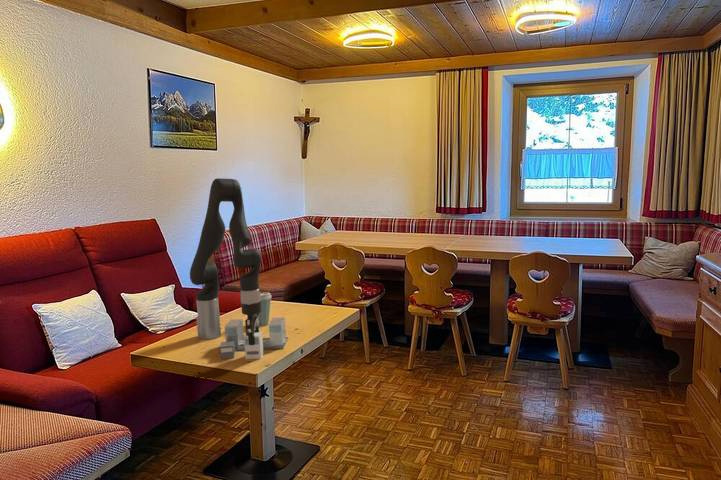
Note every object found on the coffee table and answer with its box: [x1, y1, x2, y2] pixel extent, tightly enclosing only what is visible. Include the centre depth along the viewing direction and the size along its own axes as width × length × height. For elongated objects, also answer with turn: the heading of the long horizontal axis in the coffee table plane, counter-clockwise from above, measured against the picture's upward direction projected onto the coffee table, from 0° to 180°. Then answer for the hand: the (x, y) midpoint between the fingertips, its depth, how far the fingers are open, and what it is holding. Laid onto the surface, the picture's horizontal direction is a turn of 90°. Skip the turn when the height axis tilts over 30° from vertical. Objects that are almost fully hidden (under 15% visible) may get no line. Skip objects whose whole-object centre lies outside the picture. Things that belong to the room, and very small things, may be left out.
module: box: [244, 331, 264, 360], centre depth 210 cm, size 6×5×9 cm
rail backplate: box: [224, 317, 289, 352], centre depth 224 cm, size 24×12×10 cm, turn 89°
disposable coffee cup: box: [259, 292, 272, 327], centre depth 254 cm, size 11×11×15 cm
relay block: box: [219, 341, 236, 360], centre depth 212 cm, size 5×6×5 cm
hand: (254, 341), depth 209 cm, fingers open, 8 cm apart
